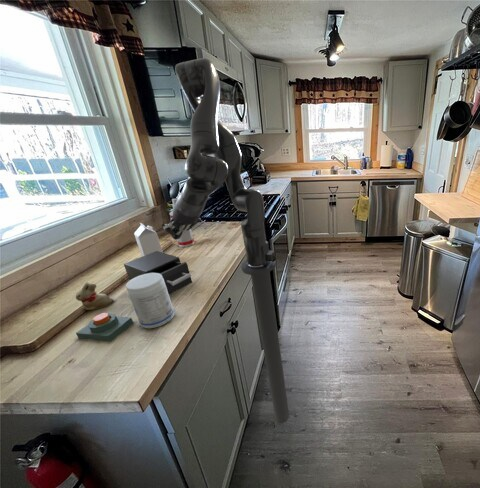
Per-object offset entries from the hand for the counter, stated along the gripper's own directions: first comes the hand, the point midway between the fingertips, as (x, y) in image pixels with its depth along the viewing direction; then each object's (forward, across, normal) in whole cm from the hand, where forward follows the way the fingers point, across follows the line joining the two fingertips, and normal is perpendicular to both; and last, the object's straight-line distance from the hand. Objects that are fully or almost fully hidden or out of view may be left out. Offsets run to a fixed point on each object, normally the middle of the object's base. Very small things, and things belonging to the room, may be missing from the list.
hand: (175, 237), depth 90 cm
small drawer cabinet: (+26, +3, +5) cm, 26 cm away
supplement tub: (+11, +16, +20) cm, 28 cm away
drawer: (+19, +3, +10) cm, 22 cm away
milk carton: (+40, -7, -10) cm, 42 cm away
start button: (+15, +26, +11) cm, 32 cm away
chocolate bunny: (+30, +21, +1) cm, 37 cm away
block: (+17, +26, +14) cm, 34 cm away
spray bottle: (+45, -28, -15) cm, 55 cm away
